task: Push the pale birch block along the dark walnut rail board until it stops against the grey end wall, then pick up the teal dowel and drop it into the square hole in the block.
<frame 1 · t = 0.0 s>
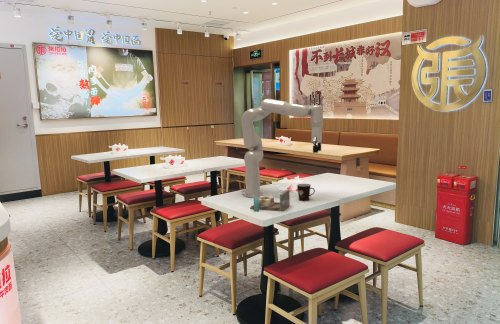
hand: (317, 151, 243), 31 cm above the table, tool pointing down, fingers open, 9 cm apart
dowel: (256, 210, 225), on the table
coffee mug: (305, 200, 245), on the table
slider block: (264, 201, 232), point 3 cm above the table, slide at 7.0 cm
rail board: (270, 207, 231), on the table
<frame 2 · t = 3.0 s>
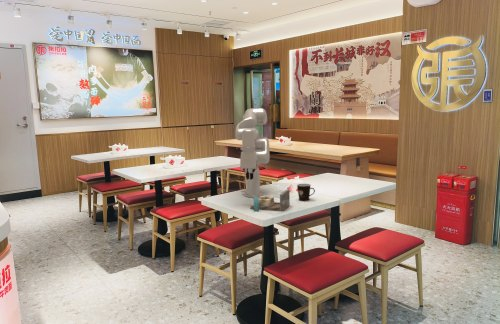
hand: (249, 179, 234), 17 cm above the table, tool pointing down, fingers closed
nothing on the table moved.
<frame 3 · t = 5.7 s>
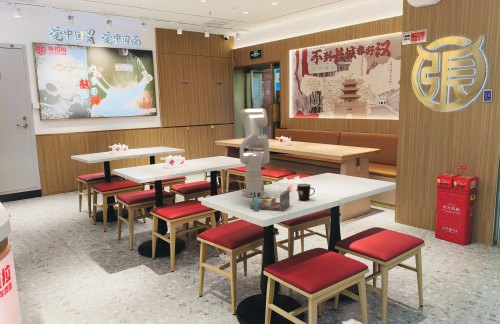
hand: (255, 203, 235), 2 cm above the table, tool pointing down, fingers closed
slider block: (266, 201, 232), point 3 cm above the table, slide at 6.0 cm, touching gripper
everything else where it was.
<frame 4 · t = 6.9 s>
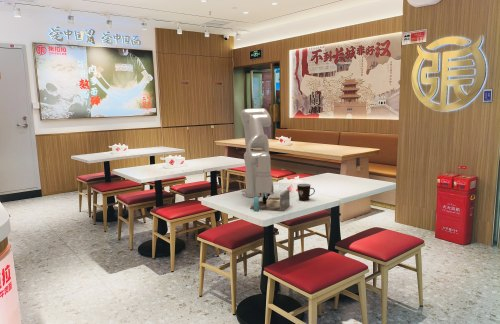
hand: (265, 203, 232), 2 cm above the table, tool pointing down, fingers closed
slider block: (276, 202, 230), point 3 cm above the table, slide at -0.2 cm, touching gripper
everything else where it was.
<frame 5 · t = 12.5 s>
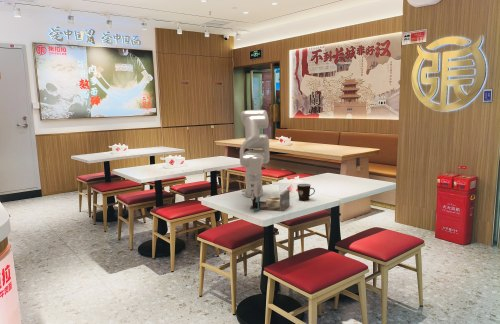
hand: (256, 207, 225), 2 cm above the table, tool pointing down, fingers closed on dowel, 3 cm apart
dowel: (256, 210, 225), on the table, touching gripper
slider block: (275, 202, 230), point 3 cm above the table, slide at 0.0 cm
everything else where it was.
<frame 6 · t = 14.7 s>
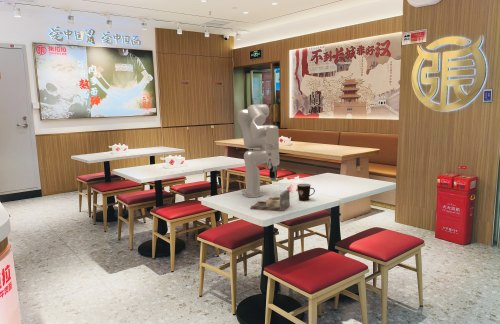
hand: (273, 177, 227), 19 cm above the table, tool pointing down, fingers closed on dowel, 3 cm apart
dowel: (273, 180, 227), point 17 cm above the table, touching gripper
everything else where it was.
when the fingers open (7 cm above the table, at t = 17.5 s): dowel drops 2 cm, resting on slider block.
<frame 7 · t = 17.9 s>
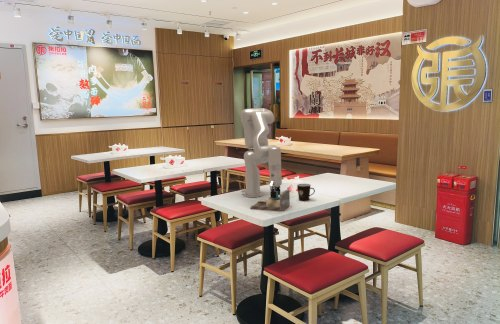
hand: (275, 196, 229), 7 cm above the table, tool pointing down, fingers open, 7 cm apart
dowel: (275, 204, 230), point 2 cm above the table, touching slider block
slider block: (275, 202, 230), point 3 cm above the table, slide at 0.0 cm, touching dowel
everything else where it was.
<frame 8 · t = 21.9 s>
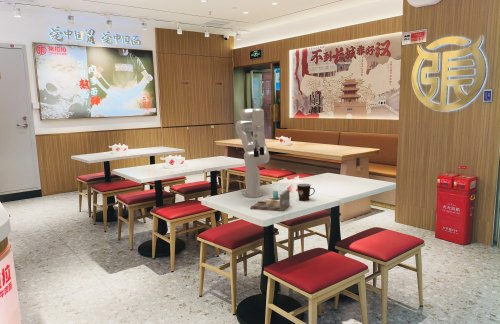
hand: (259, 156, 239), 30 cm above the table, tool pointing down, fingers open, 9 cm apart
nothing on the table moved.
at the end: slider block slide at 0.0 cm; dowel 0.0 cm from the target spot, point 2.2 cm above the table; dowel tilted 0° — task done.
